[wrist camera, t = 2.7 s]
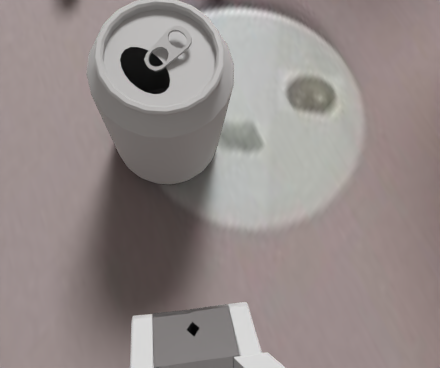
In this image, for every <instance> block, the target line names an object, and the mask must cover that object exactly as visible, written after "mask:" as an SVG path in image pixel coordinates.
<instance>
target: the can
mask: <svg viewBox="0 0 440 368" xmlns="http://www.w3.org/2000/svg"><path fill="white" fill-rule="evenodd" d="M87 78H88V83H89V87H90V91H91V95H92V97H93V99H94V102H95V104H96V106H97V108H98V110H99V112H100V114H101V117H102V119H103V121H104V123H105V125H106V127H107V129H108V132H109V134H110V136H111V138H112V140H113V142H114V145H115V147H116V149H117V151H118V153H119V155H120V157H121V158H122V160H123V161H124V163H125V164H126V166H127V167H128V168H129V169H130V170H131V171H133V172H134V173H135V174H136V175H138V176H139V177H140V178H143V179H145V180H148V181H151V182H154V183H156V184H176V183H180V182H183V181H187V180H190V179H191V178H193V177H194V176H196V175H198V174H199V173H201V172H202V171H203V170H204V169H205V168H206V167H207V165H208V164H209V163H210V162H211V160H212V159H213V156H214V154H215V151H216V148H217V146H218V142H219V138H220V135H221V131H222V127H223V123H224V119H225V115H226V112H227V108H228V104H229V100H230V96H231V92H232V89H233V85H234V63H233V60H232V57H231V54H230V51H229V48H228V45H227V43H226V42H225V41H224V39H223V38H222V37H221V35H220V33H219V31H218V30H217V28H216V27H215V26H214V24H213V23H212V22H211V20H210V19H209V18H208V17H207V16H206V15H204V14H203V13H202V12H200V11H199V10H198V9H196V8H195V7H193V6H191V5H189V4H186V3H183V2H181V1H178V0H138V1H134V2H132V3H130V4H128V5H126V6H124V7H122V8H120V9H118V10H117V11H116V12H115V13H114V14H113V15H112V16H111V17H110V18H109V19H108V20H107V21H106V22H105V23H104V24H103V26H102V28H101V30H100V32H99V34H98V36H97V38H96V40H95V43H94V45H93V47H92V49H91V51H90V53H89V58H88V66H87Z"/></svg>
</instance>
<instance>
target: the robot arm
mask: <svg viewBox="0 0 440 368" xmlns="http://www.w3.org/2000/svg"><path fill="white" fill-rule="evenodd" d="M130 368H285V367H284V366H283V365H282V364H281V363H279V362H278V361H277V360H276V359H275V358H274V357H273V356H271V355H270V354H269V353H268V352H266V353H262V351H261V347H260V344H259V341H258V337H257V334H256V330H255V327H254V324H253V320H252V317H251V313H250V310H249V306H248V304H247V303H246V302H241V303H234V304H228V305H227V304H225V305H218V306H210V307H203V308H196V309H190V310H183V311H173V312H163V313H153V314H146V315H136V316H133V318H132V325H131V354H130Z"/></svg>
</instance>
